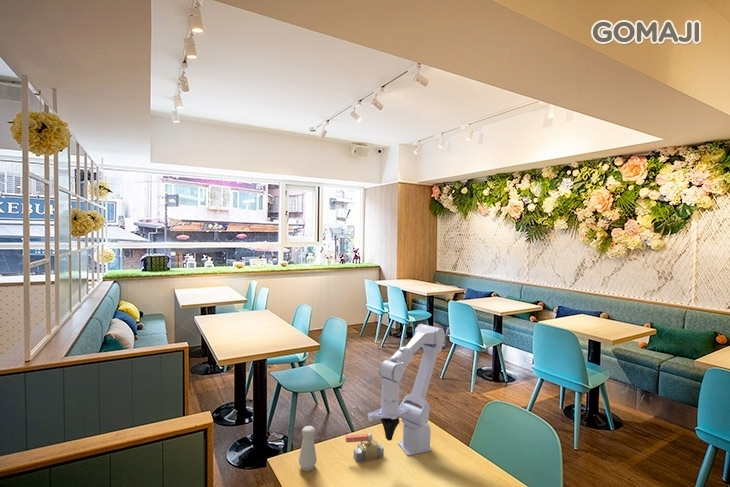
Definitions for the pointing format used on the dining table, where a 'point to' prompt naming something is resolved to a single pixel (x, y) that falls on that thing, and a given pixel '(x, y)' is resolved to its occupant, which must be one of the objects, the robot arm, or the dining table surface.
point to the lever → (359, 437)
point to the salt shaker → (307, 449)
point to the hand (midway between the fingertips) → (388, 438)
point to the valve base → (368, 451)
